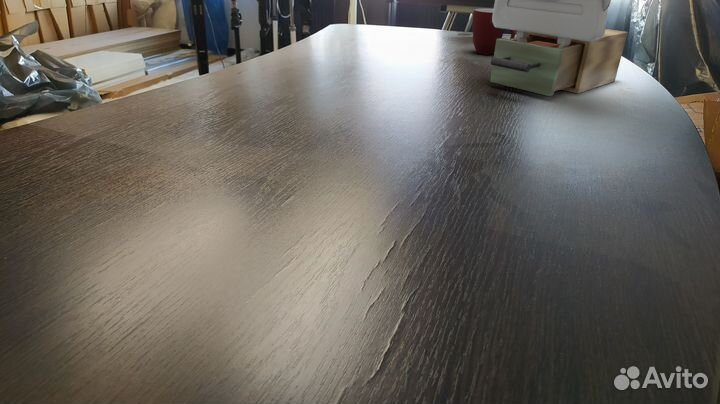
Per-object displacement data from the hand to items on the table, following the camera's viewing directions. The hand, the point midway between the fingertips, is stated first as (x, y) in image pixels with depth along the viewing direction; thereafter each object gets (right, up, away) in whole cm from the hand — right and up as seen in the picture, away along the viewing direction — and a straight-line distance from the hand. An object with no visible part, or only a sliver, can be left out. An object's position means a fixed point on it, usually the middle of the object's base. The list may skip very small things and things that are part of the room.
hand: (538, 60), depth 91 cm
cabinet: (+9, -1, +10) cm, 13 cm away
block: (0, -2, +1) cm, 2 cm away
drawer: (0, -4, +2) cm, 4 cm away
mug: (0, +10, +32) cm, 34 cm away
